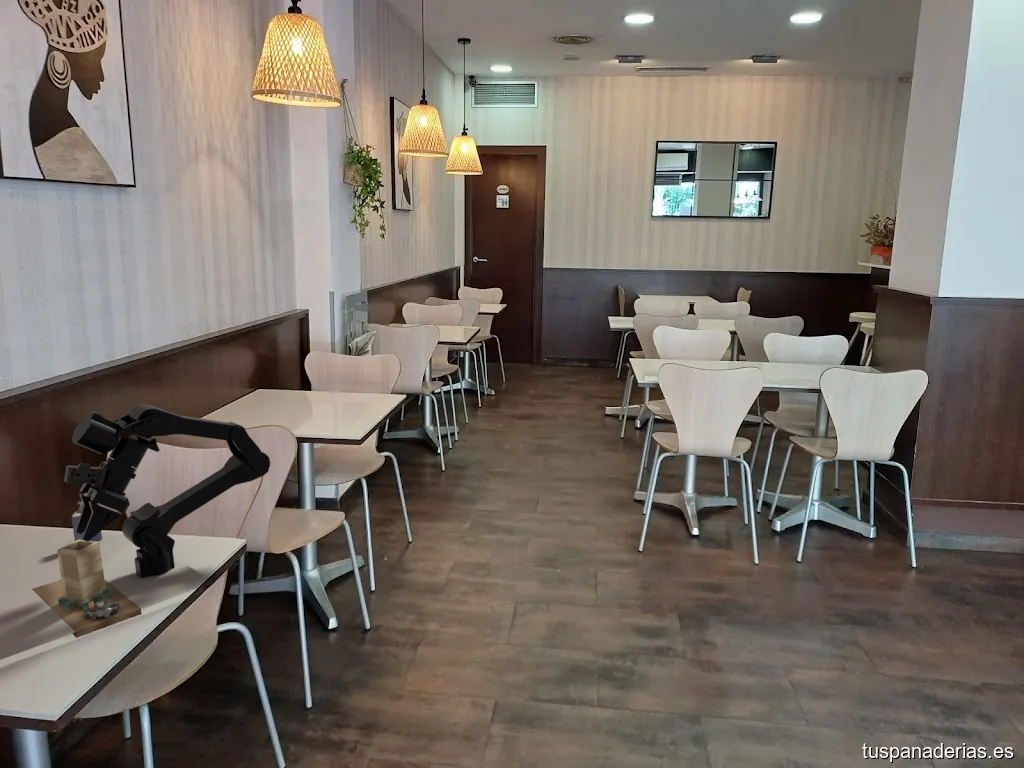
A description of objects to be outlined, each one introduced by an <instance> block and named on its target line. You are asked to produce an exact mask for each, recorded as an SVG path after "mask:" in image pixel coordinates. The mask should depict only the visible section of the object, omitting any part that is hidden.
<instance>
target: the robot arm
mask: <svg viewBox="0 0 1024 768" xmlns="http://www.w3.org/2000/svg"><path fill="white" fill-rule="evenodd" d="M122 432H124V433H127V434H128V435H129V434H130V436H128V435H126V434H123V433H122ZM141 434H142V435H144V436H147V437H149V438H146V437H144V436H141ZM172 435H173V436H174V435H182V436H183V435H184V436H190V437H191V436H192V437H198V438H199V437H200V438H206V439H214V440H219V441H225V443H226V444H227V446H228V450H229V451H230V453H231V456H230V457H229V458H228V460H226V462H225V464H224V465H223V467H221V468H220V469H219V470H217V471H216V472H214V473H212V474H211V475H209V476H207V477H206V478H205V479H202V480H201V481H199V482H197V483H196V484H194V485H193V486H191V487H190V488H188V489H186V490H185V491H183V492H182V493H179V494H178V495H177V496H175V497H173V498H172V499H170V500H169V501H167V502H166V503H164V504H162V505H156V506H155V505H153V504H152V503H150V502H146V503H144V504H143V505H142V506H140V507H139V508H138V509H136V510H133V511H130V512H129V514H130V515H129V516H128V517H127V518H125V519H124V521H123V524H122V529H121V531H122V535H123V536H124V537H125V538H126V539H127V540H128V541H129V542H130V543H132V544H133V545H134V546H135V547H137V548H138V549H136V550H135V552H136V553H135V554H136V557H135V558H134V559H133V560H134V567H135V573H136V574H135V575H136V576H138V578H139V577H140V579H143V578H148V577H156V576H161V575H164V574H166V573H169V572H170V571H172V570H173V569H175V557H174V546H175V544H176V543H175V542H176V540H175V539H174V538H172V536H170V535H169V534H170V532H171V530H172V529H173V528H174V526H175V525H176V524H177V523H178V522H179V521H181V520H182V519H184V518H185V517H188V516H189V515H190V514H192V513H194V512H195V511H196V510H198V509H200V508H201V507H203V506H205V505H206V504H208V503H209V502H211V501H212V500H214V499H215V498H217V497H218V496H221V495H222V494H223V493H225V492H227V491H228V490H230V489H231V488H233V487H234V486H237V485H241V484H247V483H251V482H253V481H255V480H257V479H259V478H262V477H263V476H265V475H266V474H268V472H269V471H270V466H271V460H270V457H269V455H268V454H266V453H265V452H263V451H261V449H260V447H259V446H258V445H257V444H256V442H255V441H254V440H253V439H252V438H251V436H249V433H248V432H247V430H246V428H245V427H244V426H242V425H240V424H238V423H237V422H233V421H228V422H226V421H220V420H213V419H206V418H201V417H193V416H189V415H188V416H187V415H181V414H177V413H173V412H170V411H167V410H165V409H162V408H159V407H156V406H153V405H150V404H147V403H141V404H138V405H136V406H135V407H133V408H132V409H131V410H130V412H129V413H127V414H124V415H123V416H120V417H118V418H116V419H113V420H111V419H108V418H106V417H104V416H103V415H101V414H100V413H98V412H95V411H92V410H91V412H90V413H89V415H87V416H85V418H83V420H82V421H81V422H80V423H78V424H77V425H76V428H74V431H73V433H72V437H71V441H72V443H74V444H75V445H78V446H80V447H83V448H86V449H88V450H90V451H93V452H95V453H98V454H99V455H103V454H105V453H106V452H107V453H109V455H108V458H106V460H105V461H104V460H103V461H101V463H100V465H99V466H91V465H90V463H82V462H81V463H78V464H77V465H66V467H65V474H64V479H63V482H64V483H66V484H69V485H75V484H82V485H81V487H80V489H79V492H80V493H79V497H80V499H81V501H82V502H83V508H82V512H81V516H80V519H79V523H78V526H77V530H76V532H77V533H79V534H82V533H83V532H84V531H85V533H84V536H83V540H85V541H89V540H91V539H92V538H93V537H94V536H96V535H97V534H98V533H99V532H100V531H101V532H102V531H103V530H104V529H106V527H107V526H109V525H110V524H111V523H113V522H114V521H116V520H117V519H118V518H119V517H121V516H122V515H123V514H126V512H127V510H128V509H129V506H130V501H129V498H128V497H127V496H126V493H127V492H126V489H127V487H128V486H129V484H130V482H131V481H132V479H133V480H134V479H135V478H136V476H137V473H136V472H137V469H138V468H139V466H140V464H141V462H142V461H143V458H144V457H145V455H146V453H147V452H148V450H151V451H153V452H156V453H159V452H160V447H159V445H158V444H157V443H158V442H157V439H156V438H154V437H168V436H172ZM82 502H81V503H82ZM122 513H123V514H122Z"/></svg>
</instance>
